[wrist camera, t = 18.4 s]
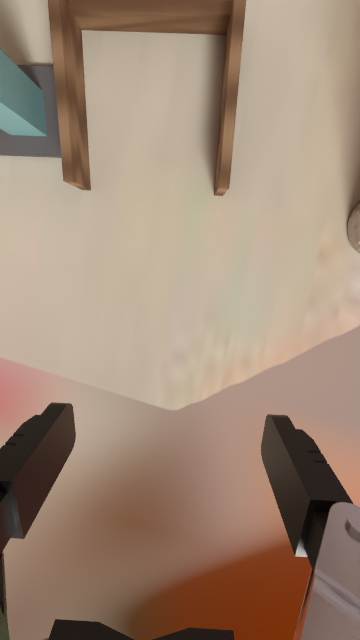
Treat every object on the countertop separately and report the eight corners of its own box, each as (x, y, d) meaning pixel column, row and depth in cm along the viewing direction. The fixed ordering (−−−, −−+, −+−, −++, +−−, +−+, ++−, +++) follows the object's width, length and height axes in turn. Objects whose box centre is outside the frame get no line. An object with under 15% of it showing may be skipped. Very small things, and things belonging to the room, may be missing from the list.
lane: (222, 195, 37) (229, 187, 31) (82, 189, 37) (63, 180, 31) (237, 22, 31) (248, -27, 25) (70, 16, 31) (45, -33, 26)
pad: (67, 157, 36) (66, 156, 36) (-3, 155, 36) (-5, 153, 36) (60, 69, 33) (58, 66, 32) (-16, 66, 33) (-19, 63, 33)
